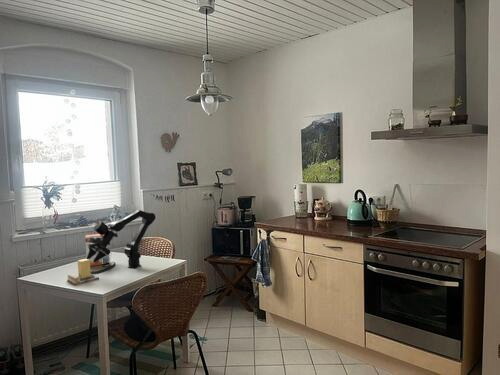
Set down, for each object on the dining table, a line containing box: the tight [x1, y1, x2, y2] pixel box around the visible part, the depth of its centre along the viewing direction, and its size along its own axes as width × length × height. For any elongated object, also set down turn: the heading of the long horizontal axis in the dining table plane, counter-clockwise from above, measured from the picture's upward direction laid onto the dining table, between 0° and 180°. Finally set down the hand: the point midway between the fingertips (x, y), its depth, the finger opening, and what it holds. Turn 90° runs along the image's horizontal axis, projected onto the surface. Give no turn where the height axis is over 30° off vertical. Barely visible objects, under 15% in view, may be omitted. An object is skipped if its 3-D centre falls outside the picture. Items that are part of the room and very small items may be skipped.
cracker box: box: [84, 233, 109, 267], centre depth 257 cm, size 14×6×21 cm, turn 112°
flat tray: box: [66, 273, 100, 286], centre depth 223 cm, size 14×12×4 cm
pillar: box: [77, 258, 91, 279], centre depth 223 cm, size 5×5×11 cm
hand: (90, 260), depth 226 cm, fingers open, 9 cm apart
